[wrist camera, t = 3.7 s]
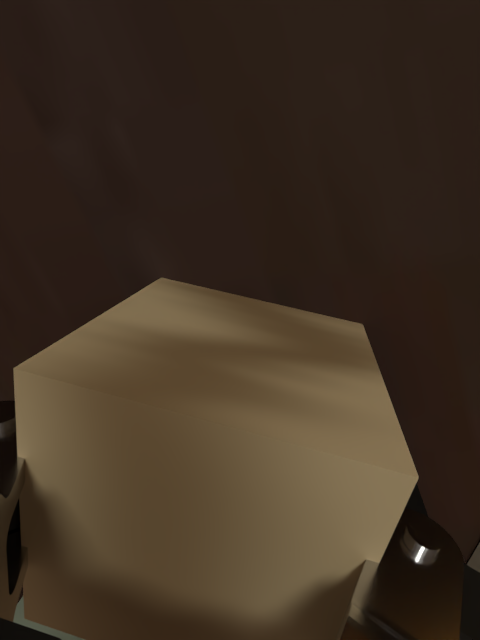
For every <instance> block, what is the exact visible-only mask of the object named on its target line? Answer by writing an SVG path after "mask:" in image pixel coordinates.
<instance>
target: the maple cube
mask: <svg viewBox="0 0 480 640" xmlns="http://www.w3.org/2000/svg"><path fill="white" fill-rule="evenodd" d="M14 390H15V413H16V436H17V456H18V457H21V458H25V483H24V486H23V489H22V491H21V494H20V496H19V506H20V529H21V546H24V547H28V568H27V571H26V575H25V578H24V582H23V599H24V619H27V620H30V621H33V622H36V623H38V624H41V625H44V626H47V627H50V628H53V629H56V630H59V631H62V632H65V633H68V634H71V635H74V636H76V637H79V638H82V639H85V640H335V638H336V635H337V633H338V630H339V627H340V625H341V622H342V620H343V617H344V614H345V611H346V609H347V606H348V603H349V601H350V598H351V595H352V592H353V590H354V587H355V584H356V581H357V579H358V577H359V575H360V572H361V570H362V568H363V566H364V563H365V561H366V559H367V560H370V561H374V562H377V563H380V561H381V558H382V556H383V554H384V552H385V550H386V548H387V545H388V543H389V541H390V539H391V537H392V535H393V532H394V530H395V528H396V526H397V524H398V522H399V519H400V517H401V515H402V513H403V511H404V509H405V506H406V504H407V502H408V500H409V498H410V496H411V493H412V491H413V489H414V487H415V485H416V483H417V480H418V478H419V477H418V474H417V471H416V468H415V466H414V463H413V460H412V457H411V455H410V452H409V449H408V447H407V444H406V441H405V438H404V436H403V433H402V430H401V427H400V425H399V422H398V419H397V417H396V414H395V411H394V408H393V406H392V403H391V400H390V397H389V395H388V392H387V389H386V387H385V384H384V381H383V378H382V376H381V373H380V370H379V367H378V365H377V362H376V359H375V357H374V354H373V351H372V348H371V346H370V343H369V340H368V337H367V335H366V332H365V329H364V326H363V324H359V323H355V322H351V321H346V320H342V319H338V318H333V317H329V316H325V315H320V314H316V313H312V312H307V311H303V310H299V309H294V308H290V307H286V306H282V305H277V304H273V303H269V302H264V301H260V300H256V299H251V298H247V297H243V296H238V295H234V294H230V293H226V292H221V291H217V290H213V289H208V288H204V287H200V286H195V285H191V284H187V283H182V282H178V281H174V280H169V279H165V278H160V279H158V280H157V281H155V282H153V283H152V284H150V285H148V286H147V287H145V288H144V289H142V290H140V291H139V292H137V293H135V294H134V295H132V296H131V297H129V298H127V299H126V300H124V301H122V302H121V303H119V304H118V305H116V306H114V307H113V308H111V309H109V310H108V311H106V312H105V313H103V314H101V315H100V316H98V317H96V318H95V319H93V320H91V321H90V322H88V323H87V324H85V325H83V326H82V327H80V328H78V329H77V330H75V331H74V332H72V333H70V334H69V335H67V336H65V337H64V338H62V339H61V340H59V341H57V342H56V343H54V344H52V345H51V346H49V347H48V348H46V349H44V350H43V351H41V352H39V353H38V354H36V355H35V356H33V357H31V358H30V359H28V360H26V361H25V362H23V363H22V364H20V365H18V366H17V367H15V368H14Z"/></svg>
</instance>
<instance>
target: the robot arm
mask: <svg viewBox="0 0 480 640" xmlns="http://www.w3.org/2000/svg"><path fill="white" fill-rule="evenodd" d="M24 483H25V458H21V457H18V456H17V436H16V413H15V401H0V640H61V639H60V638H58V637H55V636H52V635H49V634H47V633H44V632H41V631H38V630H35V629H32V628H29V627H26V626H23V625H20V624H17V623H15V622H13V619H14V614H15V610H16V606H17V602H18V598H19V595H20V592H21V588H22V585H23V582H24V578H25V575H26V571H27V568H28V547H24V546H21V529H20V506H19V496H20V494H21V491H22V489H23V486H24ZM335 640H480V572H478V571H476V570H475V569H473V568H471V567H470V566H468V565H467V564H465V563H464V559H463V555H462V553H461V551H460V548H459V547H458V545H457V543H456V542H455V541H454V539H453V538H452V537H451V536H450V534H449V533H448V532H447V531H446V530H445V529H444V528H442V527H441V526H440V525H439V524H438V523H436V522H435V521H434V520H432V519H430V518H429V517H428V515H427V512H426V509H425V506H424V503H423V500H422V498H421V495H420V492H419V489H418V486H417V483H416V485H415V487H414V489H413V491H412V493H411V496H410V498H409V500H408V502H407V504H406V506H405V509H404V511H403V513H402V515H401V517H400V519H399V522H398V524H397V526H396V528H395V530H394V532H393V535H392V537H391V539H390V541H389V543H388V545H387V548H386V550H385V552H384V554H383V556H382V558H381V561H380V563H377V562H374V561H370V560H367V559H366V561H365V563H364V566H363V568H362V570H361V572H360V575H359V577H358V579H357V581H356V584H355V587H354V590H353V592H352V595H351V598H350V601H349V603H348V606H347V609H346V611H345V614H344V617H343V620H342V622H341V625H340V627H339V630H338V633H337V635H336V638H335Z"/></svg>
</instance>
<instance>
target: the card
mask: <svg viewBox="0 0 480 640" xmlns="http://www.w3.org/2000/svg"><path fill="white" fill-rule="evenodd" d="M467 565H468V566H470V567H471V568H473V569H475V570H476V571H478V572H480V543H479V544H478V546H477V548H476V550H475V551H474V553H473V555H472V556H471V558H470V560H469V561H468V563H467Z"/></svg>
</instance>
